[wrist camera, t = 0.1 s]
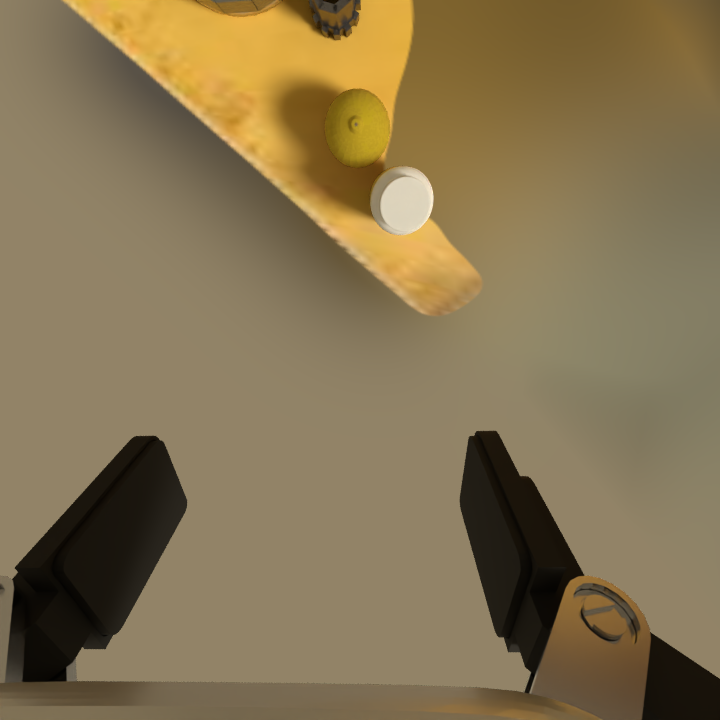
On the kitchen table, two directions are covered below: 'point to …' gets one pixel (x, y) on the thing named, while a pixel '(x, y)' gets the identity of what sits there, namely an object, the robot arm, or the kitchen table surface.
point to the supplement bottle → (401, 200)
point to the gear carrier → (240, 6)
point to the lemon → (357, 128)
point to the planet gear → (335, 16)
